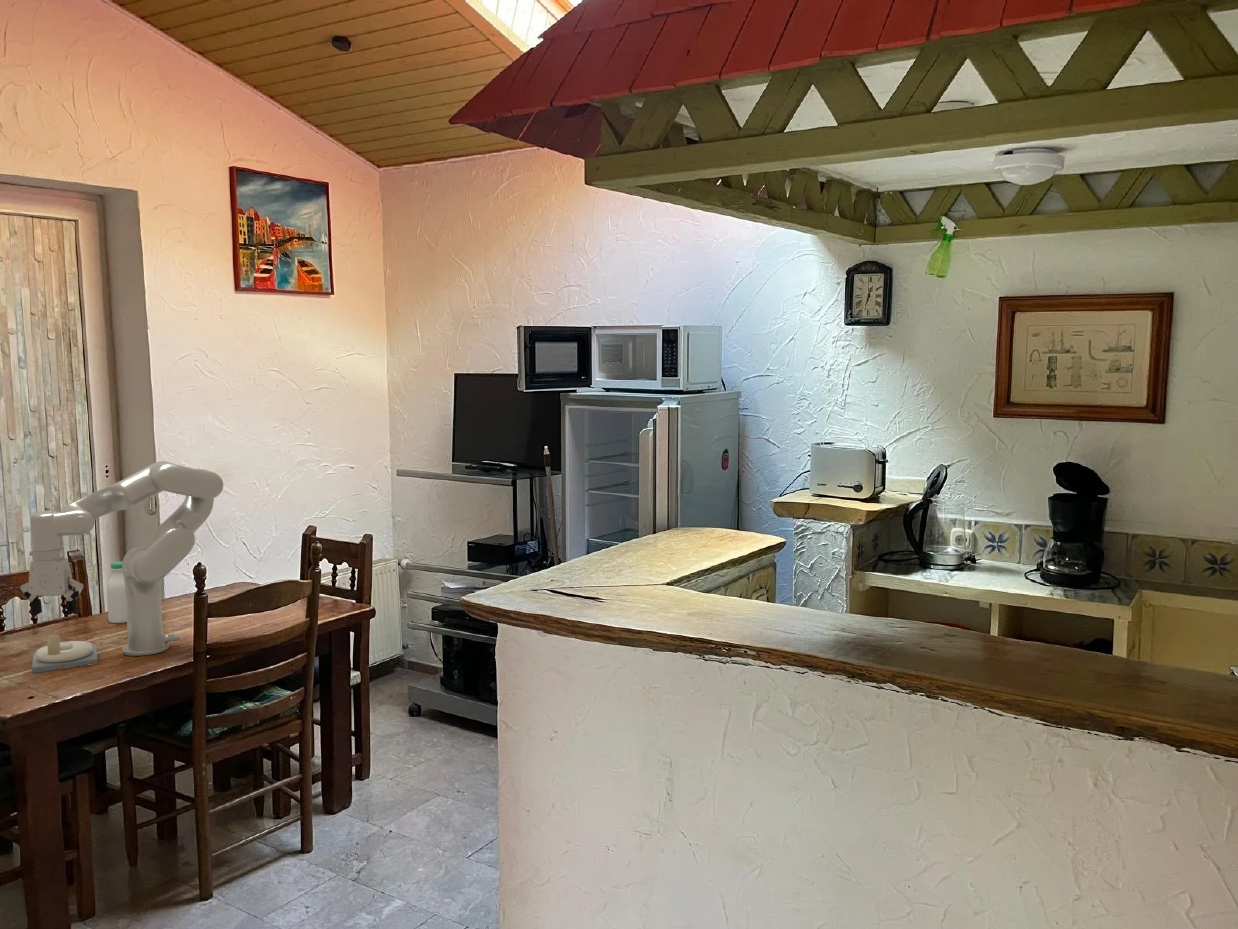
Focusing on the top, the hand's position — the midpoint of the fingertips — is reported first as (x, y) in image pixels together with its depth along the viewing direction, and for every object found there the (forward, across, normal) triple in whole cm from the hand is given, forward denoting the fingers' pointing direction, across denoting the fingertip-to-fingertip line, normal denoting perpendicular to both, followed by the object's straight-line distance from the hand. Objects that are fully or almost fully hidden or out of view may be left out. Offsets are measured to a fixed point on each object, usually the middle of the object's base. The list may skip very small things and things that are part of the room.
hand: (54, 613), depth 262 cm
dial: (+14, -1, +4) cm, 14 cm away
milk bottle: (+16, -7, +47) cm, 50 cm away
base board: (+15, -1, +4) cm, 16 cm away
